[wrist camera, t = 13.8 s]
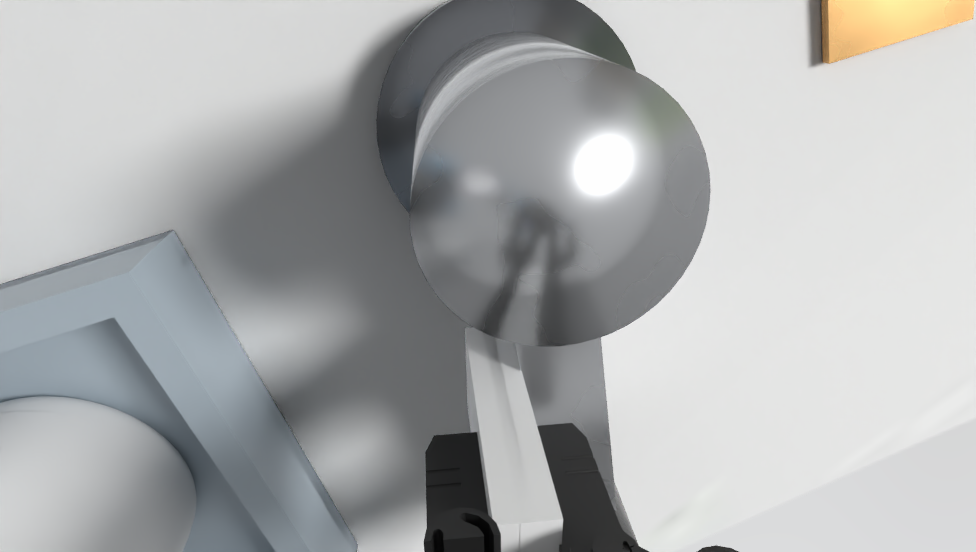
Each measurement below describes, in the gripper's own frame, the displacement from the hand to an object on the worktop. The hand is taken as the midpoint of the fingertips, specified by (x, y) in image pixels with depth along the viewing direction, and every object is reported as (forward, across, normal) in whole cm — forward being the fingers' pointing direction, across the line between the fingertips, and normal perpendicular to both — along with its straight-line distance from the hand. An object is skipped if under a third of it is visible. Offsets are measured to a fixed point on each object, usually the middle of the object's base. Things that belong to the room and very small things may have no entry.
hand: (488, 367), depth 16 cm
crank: (+1, +2, +1) cm, 2 cm away
